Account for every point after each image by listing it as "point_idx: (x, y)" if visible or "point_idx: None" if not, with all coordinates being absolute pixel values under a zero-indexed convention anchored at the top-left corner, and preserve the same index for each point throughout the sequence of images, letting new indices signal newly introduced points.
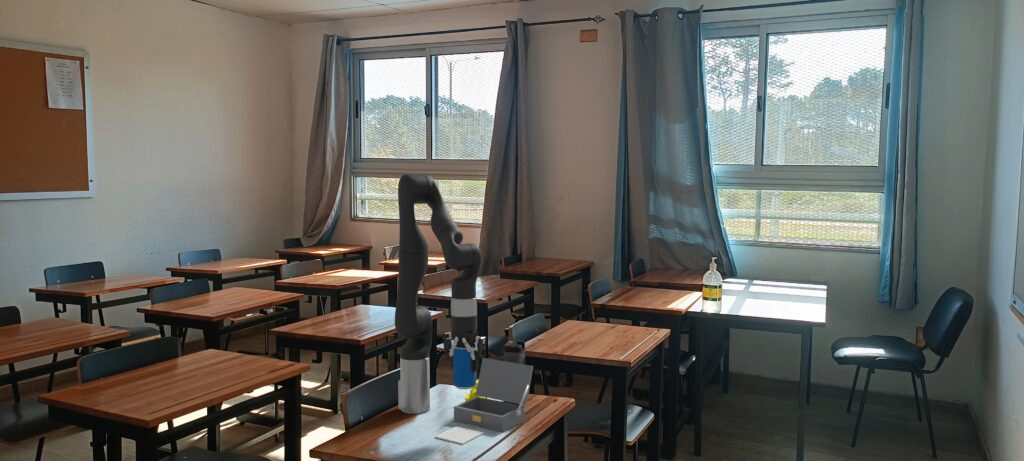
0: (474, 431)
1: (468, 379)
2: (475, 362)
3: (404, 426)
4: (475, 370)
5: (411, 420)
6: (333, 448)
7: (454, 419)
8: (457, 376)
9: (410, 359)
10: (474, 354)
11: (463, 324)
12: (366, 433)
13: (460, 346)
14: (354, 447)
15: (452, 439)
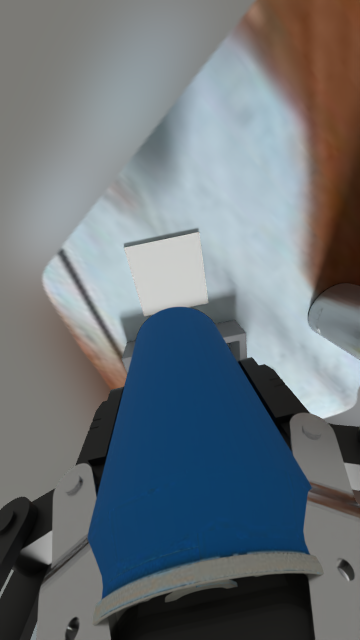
0: (161, 308)
1: (134, 350)
2: (85, 450)
3: (298, 231)
4: (103, 403)
5: (307, 266)
6: None
7: (234, 321)
8: (175, 326)
9: None
10: (56, 530)
11: None
12: (353, 121)
13: (243, 607)
14: None
15: (157, 247)
